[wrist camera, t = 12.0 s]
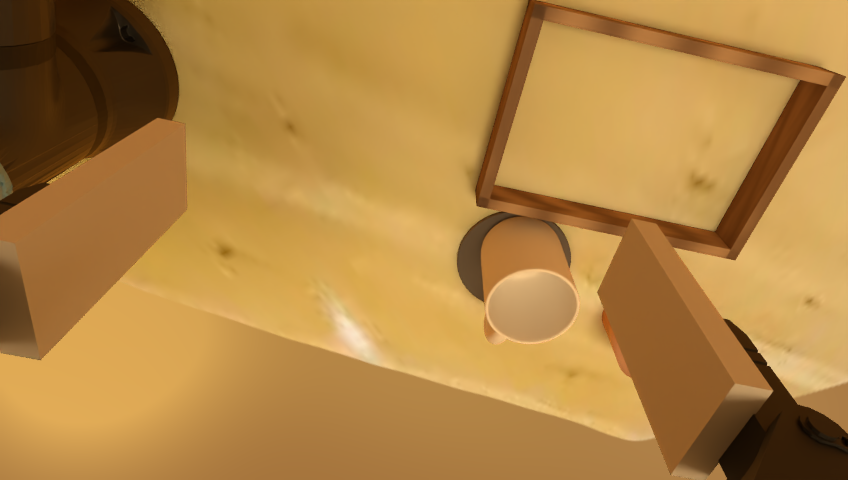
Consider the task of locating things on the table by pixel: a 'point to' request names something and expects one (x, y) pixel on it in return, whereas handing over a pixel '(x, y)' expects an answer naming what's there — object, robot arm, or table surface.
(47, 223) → the robot arm
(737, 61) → the frame
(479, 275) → the dark brown round mat
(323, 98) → the table surface
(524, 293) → the mug
